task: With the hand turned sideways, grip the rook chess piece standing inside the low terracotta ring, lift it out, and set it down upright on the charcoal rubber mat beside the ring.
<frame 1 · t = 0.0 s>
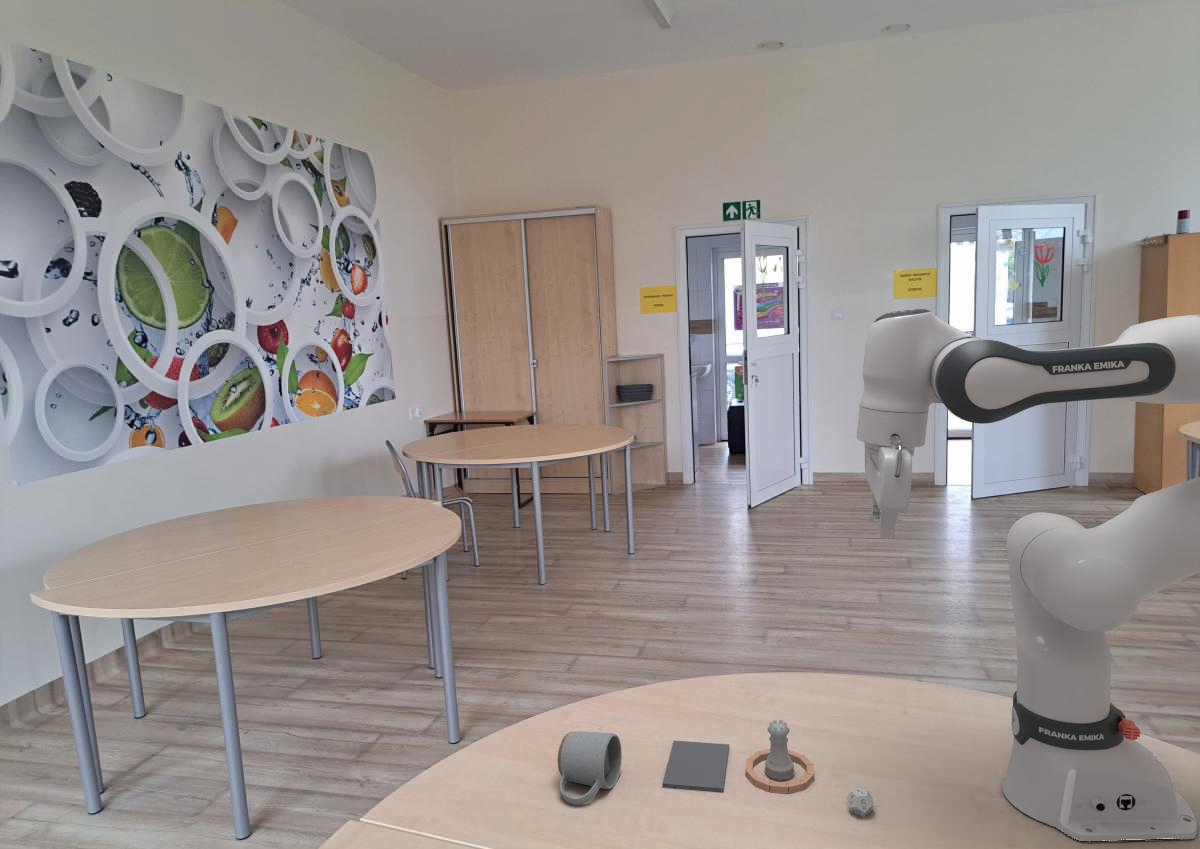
hand: (881, 527, 111), 39 cm above the table, tool pointing down, fingers open, 8 cm apart
charcoal mat: (697, 766, 124), on the table
game die: (860, 813, 111), on the table
rook chess piece: (779, 774, 121), resting in terracotta ring
terracotta ring: (779, 773, 121), on the table
ceramic mug: (589, 787, 121), on the table
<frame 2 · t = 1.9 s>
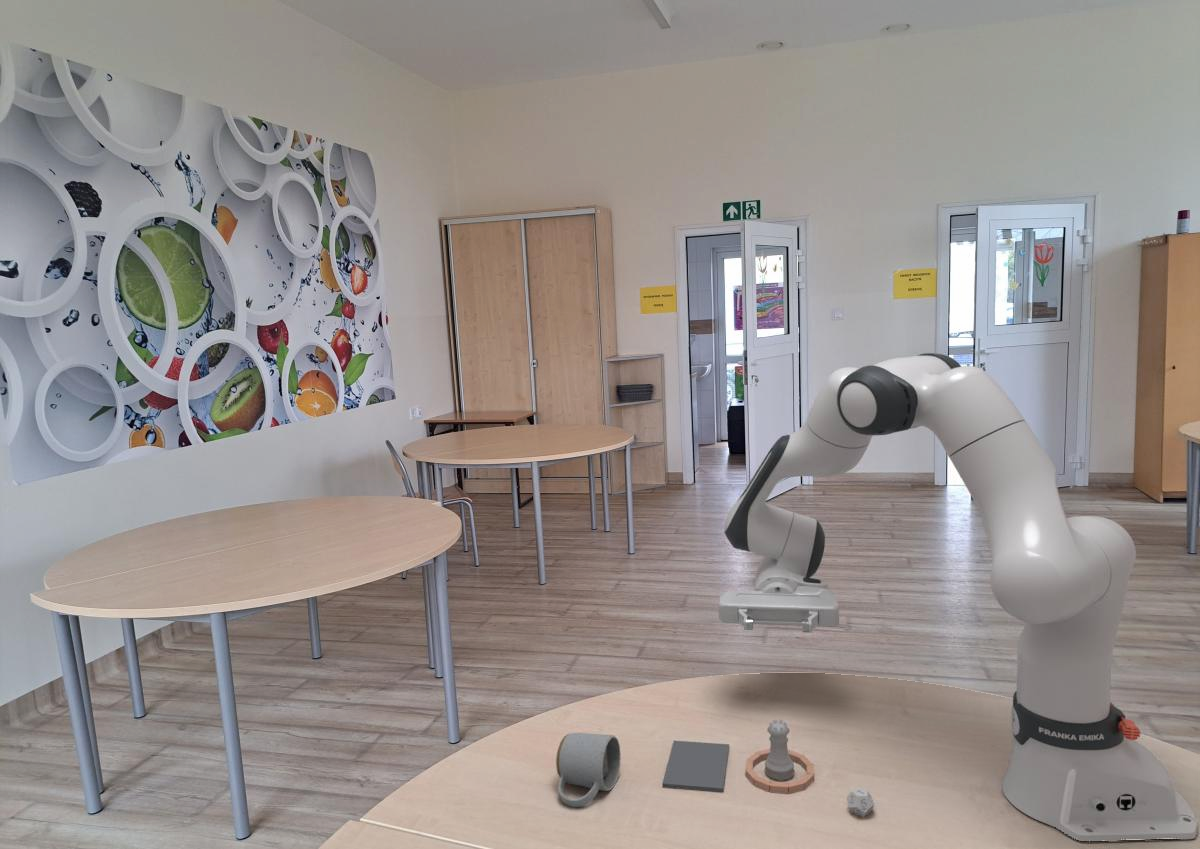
hand: (777, 627, 131), 18 cm above the table, tool horizontal, fingers open, 8 cm apart
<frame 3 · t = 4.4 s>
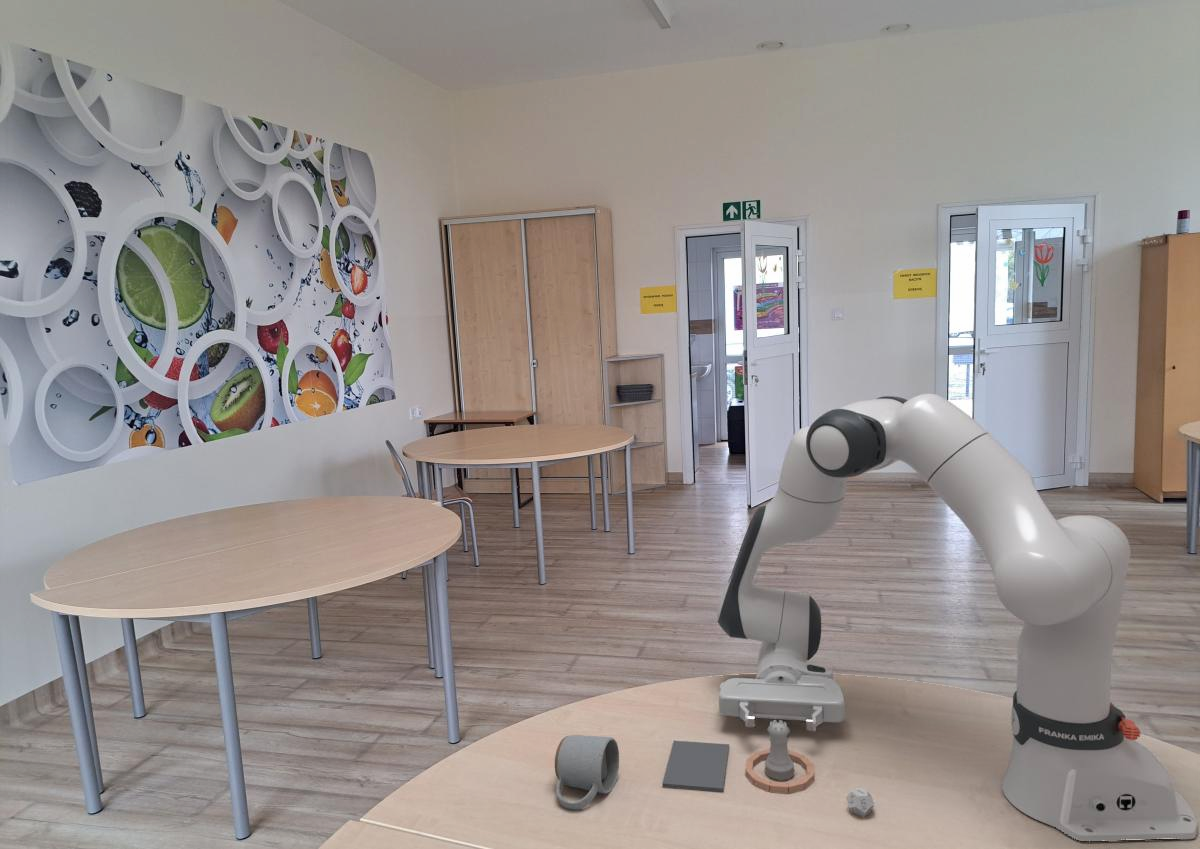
hand: (780, 724, 126), 5 cm above the table, tool horizontal, fingers open, 8 cm apart
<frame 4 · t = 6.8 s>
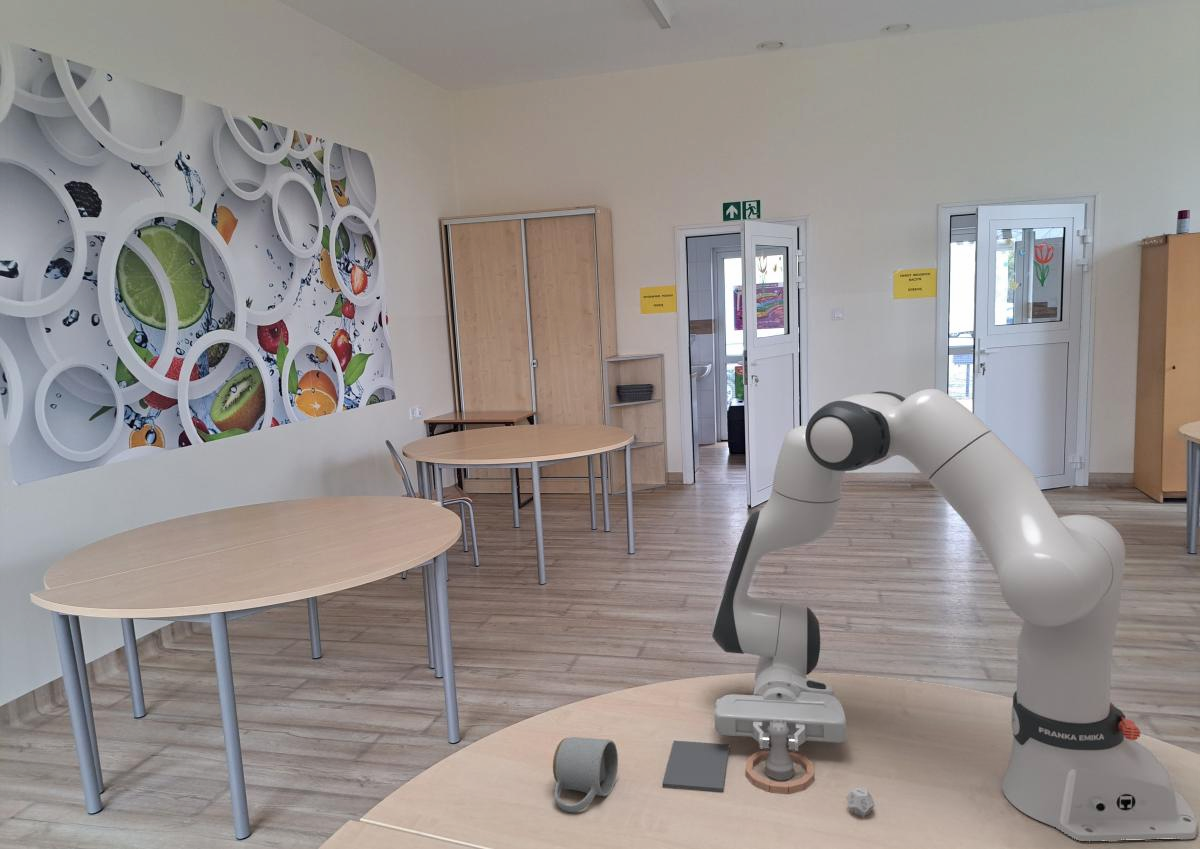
hand: (778, 745, 120), 5 cm above the table, tool horizontal, fingers closed on rook chess piece, 3 cm apart
rook chess piece: (779, 774, 121), resting in terracotta ring, touching gripper
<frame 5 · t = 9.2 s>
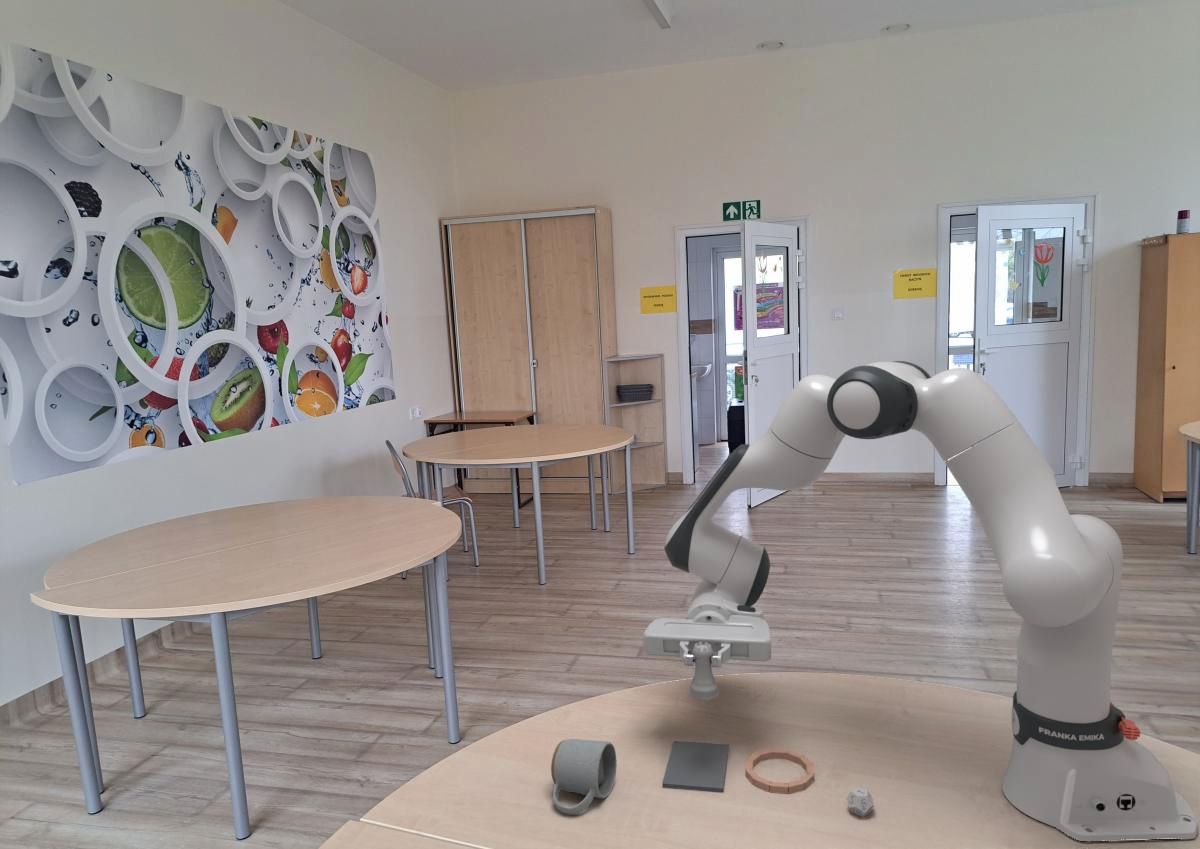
hand: (702, 662, 121), 18 cm above the table, tool horizontal, fingers closed on rook chess piece, 3 cm apart
rook chess piece: (704, 695, 122), point 12 cm above the table, touching gripper
when the fingers open (7 cm above the table, at t = 12.0 s): rook chess piece stays where it is, resting on charcoal mat.
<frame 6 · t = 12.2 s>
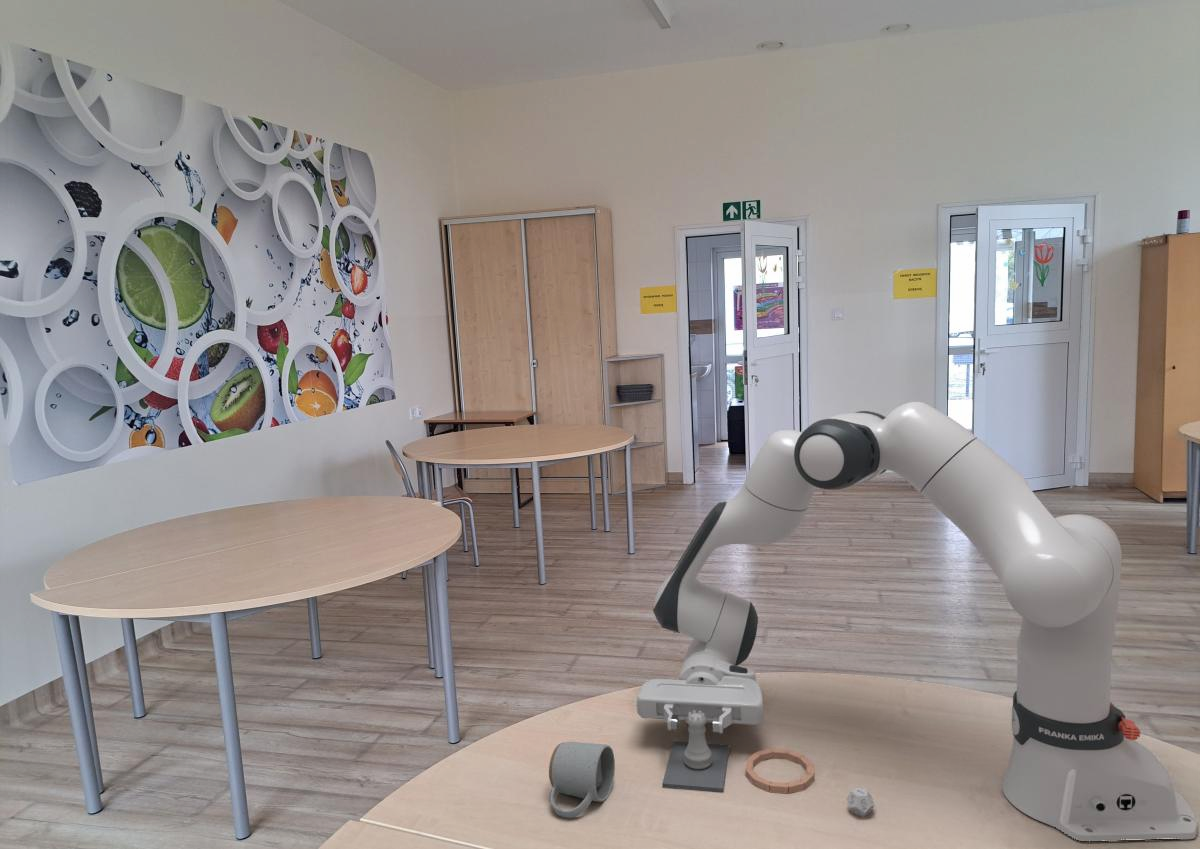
hand: (694, 727, 122), 7 cm above the table, tool horizontal, fingers open, 5 cm apart
rook chess piece: (698, 763, 124), resting on charcoal mat
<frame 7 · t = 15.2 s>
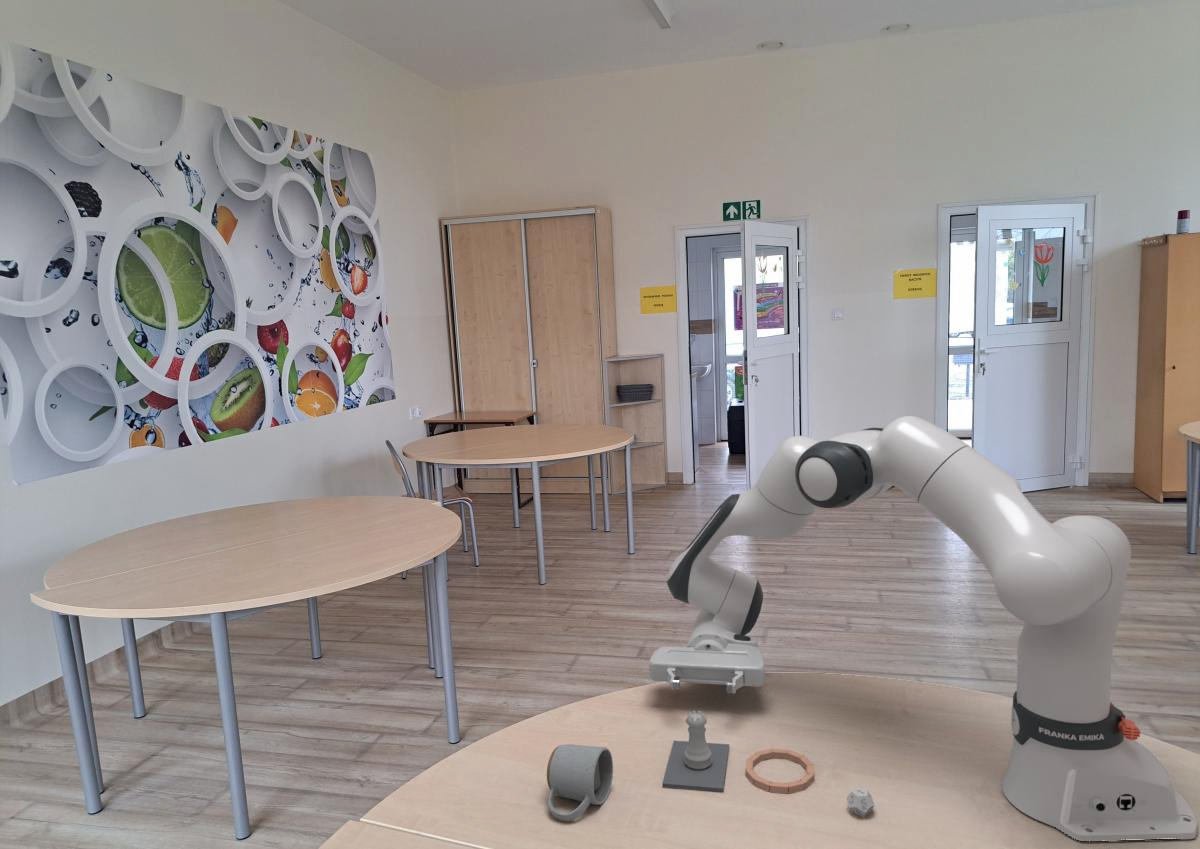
hand: (702, 687, 134), 7 cm above the table, tool horizontal, fingers open, 8 cm apart
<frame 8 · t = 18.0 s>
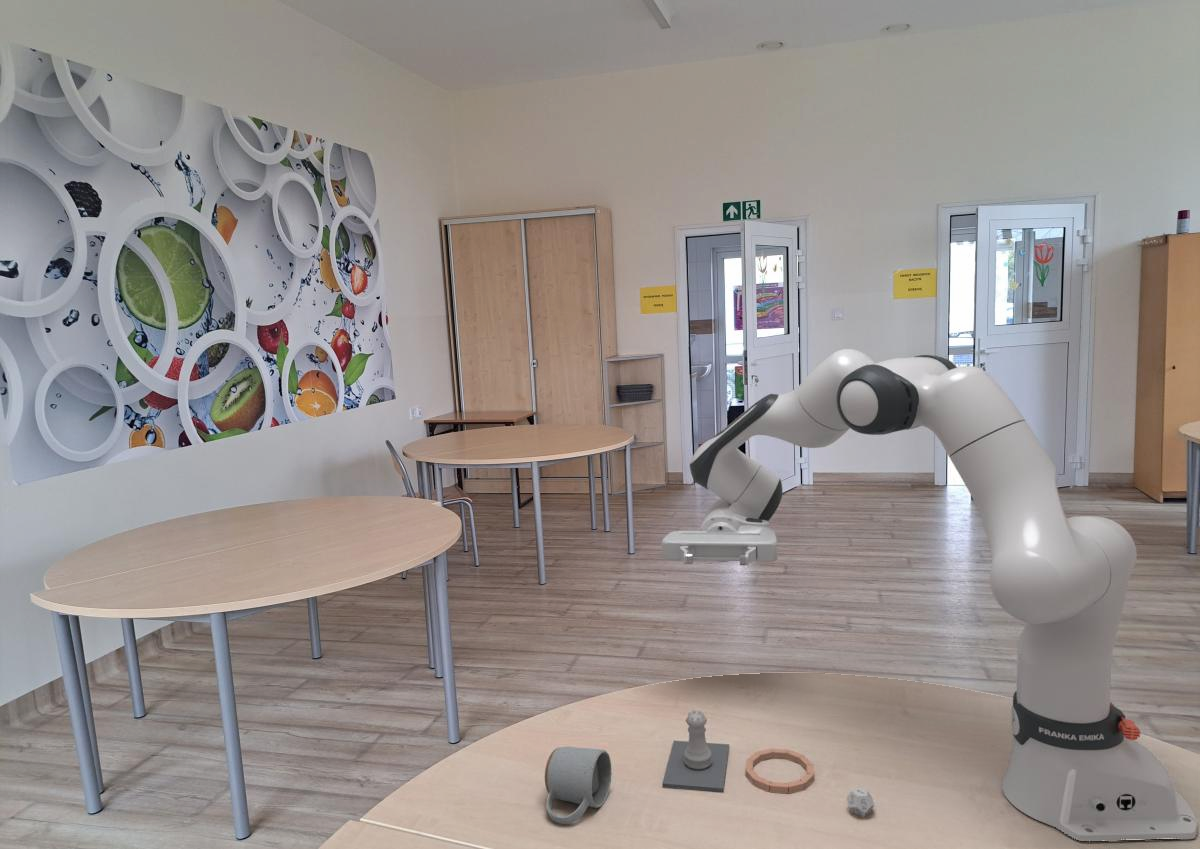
hand: (715, 560, 135), 28 cm above the table, tool horizontal, fingers open, 8 cm apart
at the end: rook chess piece inside the target area (0.2 cm from its centre), resting on charcoal mat; rook chess piece tilted 0°; the gripper is holding nothing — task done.
